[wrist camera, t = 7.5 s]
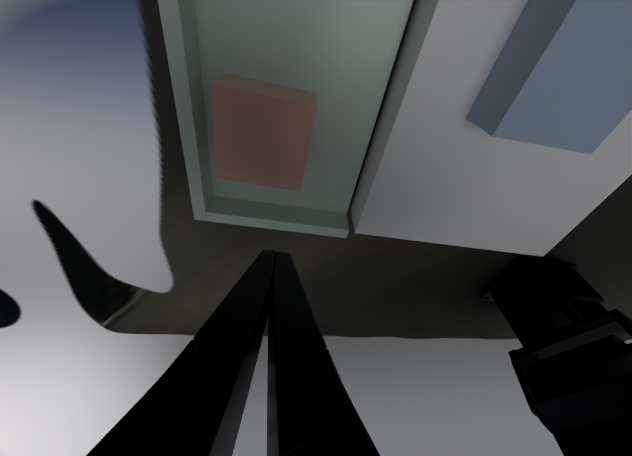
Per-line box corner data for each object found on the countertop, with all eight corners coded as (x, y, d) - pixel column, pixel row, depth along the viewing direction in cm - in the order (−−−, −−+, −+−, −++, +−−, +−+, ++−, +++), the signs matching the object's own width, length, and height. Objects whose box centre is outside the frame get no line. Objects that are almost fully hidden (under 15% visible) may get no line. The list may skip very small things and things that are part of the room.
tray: (343, 217, 21) (346, 238, 19) (205, 199, 20) (194, 219, 18) (434, -80, 11) (460, -99, 9) (161, -157, 10) (124, -198, 8)
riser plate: (519, 231, 22) (543, 256, 20) (350, 208, 20) (354, 233, 18) (702, 28, 13) (783, 32, 11) (430, -44, 11) (459, -58, 9)
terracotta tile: (215, 177, 15) (226, 158, 17) (300, 191, 16) (301, 172, 18) (210, 83, 12) (224, 72, 14) (317, 105, 13) (316, 93, 14)
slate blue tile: (552, 134, 14) (591, 154, 12) (465, 117, 13) (492, 136, 11) (644, 13, 11) (718, 14, 9) (536, -16, 10) (588, -21, 8)
